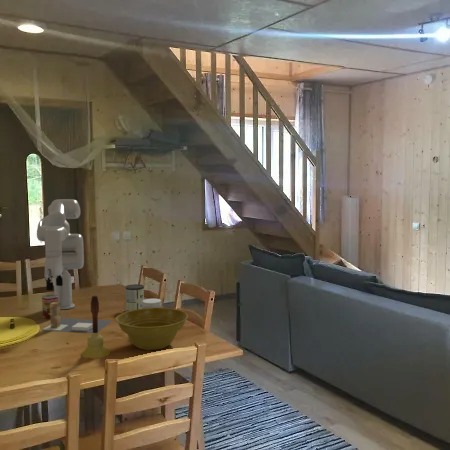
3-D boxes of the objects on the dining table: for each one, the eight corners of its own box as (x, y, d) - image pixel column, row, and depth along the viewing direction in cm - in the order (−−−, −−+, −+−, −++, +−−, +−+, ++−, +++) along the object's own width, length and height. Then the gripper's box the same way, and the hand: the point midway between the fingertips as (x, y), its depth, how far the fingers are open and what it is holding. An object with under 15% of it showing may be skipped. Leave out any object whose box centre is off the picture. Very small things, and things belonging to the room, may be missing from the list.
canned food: (43, 321, 268) (42, 298, 267) (42, 317, 275) (41, 295, 274) (58, 319, 271) (58, 297, 270) (57, 315, 278) (57, 294, 277)
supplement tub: (158, 325, 261) (158, 297, 259) (164, 330, 252) (164, 301, 251) (140, 328, 256) (139, 299, 255) (145, 333, 248) (145, 303, 247)
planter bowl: (101, 352, 222) (100, 321, 220) (140, 331, 251) (139, 304, 250) (167, 362, 210) (167, 330, 209) (199, 339, 240) (199, 311, 238)
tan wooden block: (50, 327, 252) (50, 303, 251) (54, 325, 255) (53, 302, 254) (57, 328, 251) (56, 304, 250) (60, 326, 255) (60, 302, 254)
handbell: (77, 358, 214) (76, 299, 212) (85, 348, 226) (84, 292, 224) (106, 358, 214) (105, 299, 212) (113, 348, 226) (112, 292, 224)
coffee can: (128, 308, 295) (128, 284, 294) (146, 308, 294) (146, 284, 293) (123, 312, 285) (123, 287, 284) (141, 313, 284) (141, 288, 283)
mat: (41, 331, 249) (41, 330, 249) (62, 319, 271) (62, 318, 271) (95, 334, 245) (95, 333, 245) (112, 322, 267) (112, 320, 267)
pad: (42, 330, 250) (42, 329, 250) (51, 324, 259) (51, 324, 258) (59, 331, 248) (59, 330, 248) (68, 325, 257) (68, 324, 257)
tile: (78, 326, 256) (71, 330, 249) (78, 322, 256) (71, 326, 249) (93, 327, 255) (87, 331, 248) (93, 323, 254) (87, 327, 248)
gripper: (55, 250, 259) (55, 283, 261) (37, 256, 242) (38, 291, 244) (69, 251, 258) (69, 284, 260) (52, 257, 241) (53, 292, 243)
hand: (54, 287), depth 252 cm, fingers open, 9 cm apart
